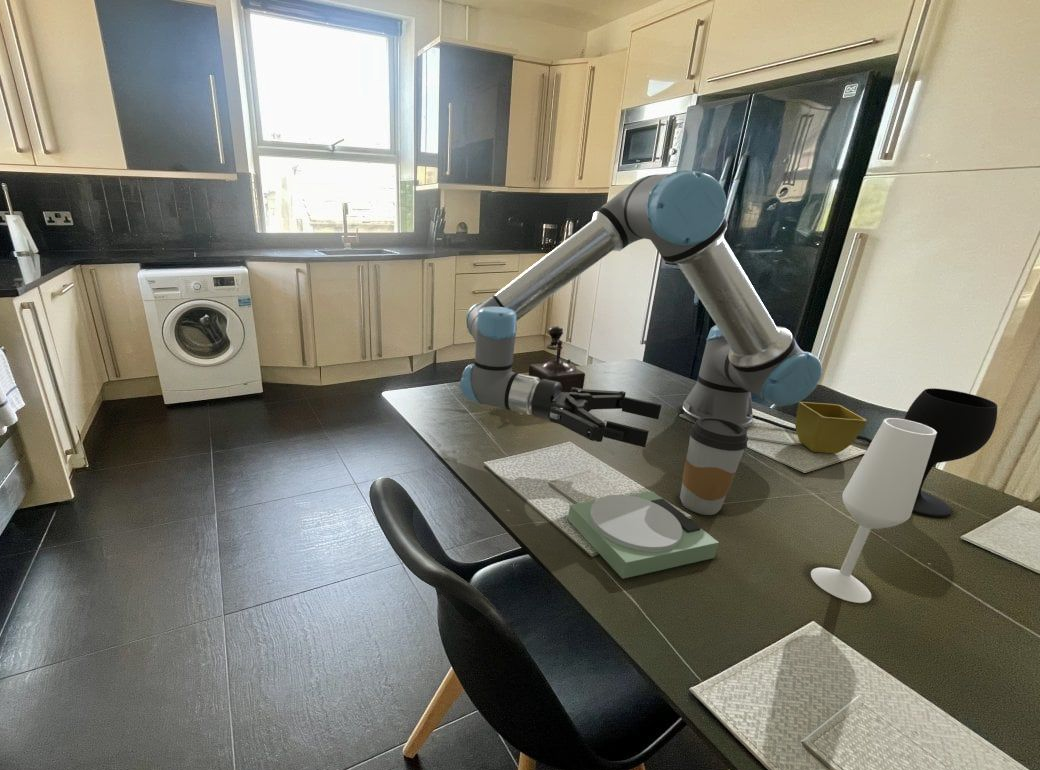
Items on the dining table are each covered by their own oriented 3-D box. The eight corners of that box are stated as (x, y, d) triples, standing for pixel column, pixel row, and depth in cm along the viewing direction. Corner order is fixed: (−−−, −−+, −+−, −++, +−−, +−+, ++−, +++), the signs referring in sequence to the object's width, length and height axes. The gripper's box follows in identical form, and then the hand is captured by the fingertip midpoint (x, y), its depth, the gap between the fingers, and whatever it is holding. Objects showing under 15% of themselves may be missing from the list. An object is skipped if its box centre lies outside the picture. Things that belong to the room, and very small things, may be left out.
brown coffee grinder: (583, 408, 122) (594, 338, 116) (545, 412, 119) (554, 341, 112) (551, 387, 136) (559, 324, 129) (516, 390, 132) (522, 325, 126)
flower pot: (826, 440, 109) (840, 404, 106) (853, 459, 101) (868, 420, 98) (785, 437, 110) (797, 401, 107) (808, 456, 102) (822, 417, 99)
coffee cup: (721, 497, 86) (744, 420, 80) (731, 524, 79) (757, 441, 73) (670, 487, 88) (689, 412, 83) (675, 512, 81) (696, 432, 75)
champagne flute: (853, 608, 62) (930, 442, 53) (799, 574, 68) (861, 419, 59) (882, 594, 65) (961, 433, 56) (828, 562, 71) (891, 411, 62)
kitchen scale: (648, 504, 83) (653, 486, 82) (714, 557, 71) (720, 537, 69) (567, 519, 78) (570, 499, 77) (622, 579, 66) (627, 557, 65)
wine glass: (935, 493, 90) (984, 393, 82) (963, 524, 81) (1021, 415, 73) (865, 479, 93) (906, 382, 86) (885, 507, 85) (932, 402, 77)
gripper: (555, 396, 105) (660, 420, 95) (508, 438, 85) (635, 474, 75) (560, 363, 102) (668, 384, 92) (513, 398, 82) (645, 430, 72)
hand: (654, 424), depth 83 cm, fingers open, 13 cm apart
